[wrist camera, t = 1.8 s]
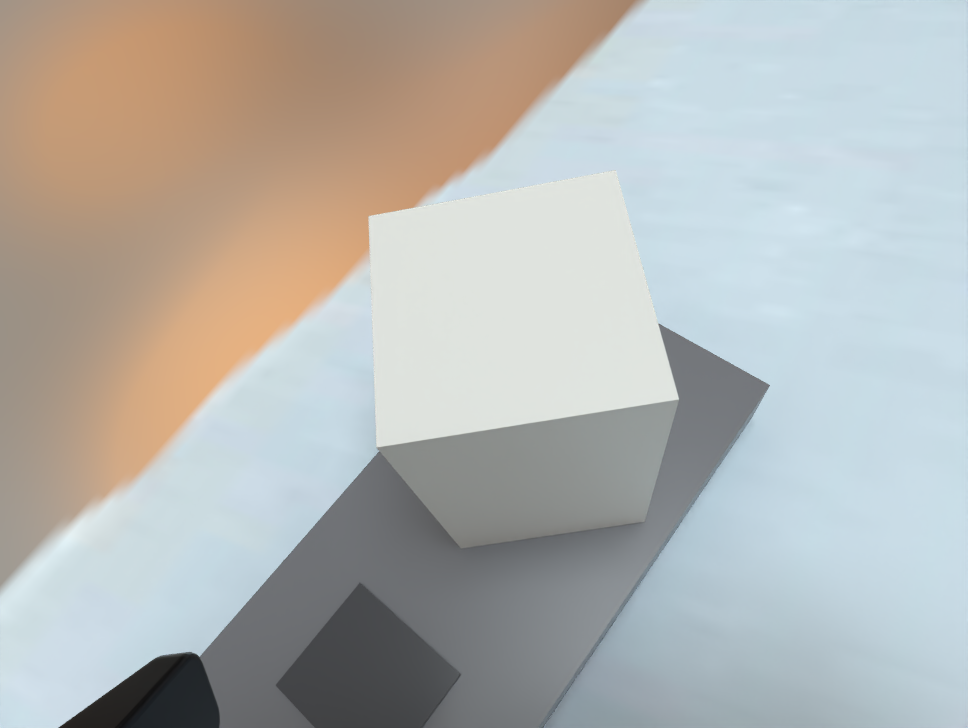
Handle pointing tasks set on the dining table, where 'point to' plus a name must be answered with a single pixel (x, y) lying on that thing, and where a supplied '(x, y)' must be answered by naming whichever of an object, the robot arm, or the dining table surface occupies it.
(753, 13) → the dining table surface
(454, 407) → the block
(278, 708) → the power strip
